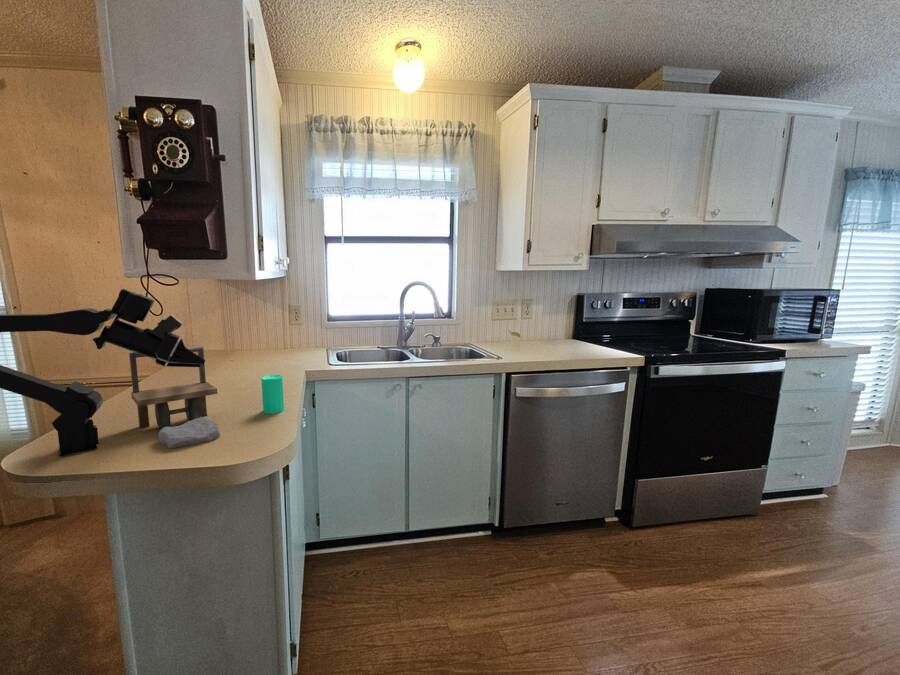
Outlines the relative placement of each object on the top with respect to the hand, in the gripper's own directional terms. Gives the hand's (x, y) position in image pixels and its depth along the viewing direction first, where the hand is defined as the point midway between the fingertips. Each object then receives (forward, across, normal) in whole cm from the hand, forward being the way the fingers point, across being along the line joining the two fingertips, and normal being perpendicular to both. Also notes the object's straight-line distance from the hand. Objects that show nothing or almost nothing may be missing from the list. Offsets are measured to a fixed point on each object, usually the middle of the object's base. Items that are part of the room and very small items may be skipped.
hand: (202, 363), depth 110 cm
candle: (+24, +13, +4) cm, 28 cm away
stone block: (+6, 0, +19) cm, 19 cm away
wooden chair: (+2, +15, +16) cm, 22 cm away
